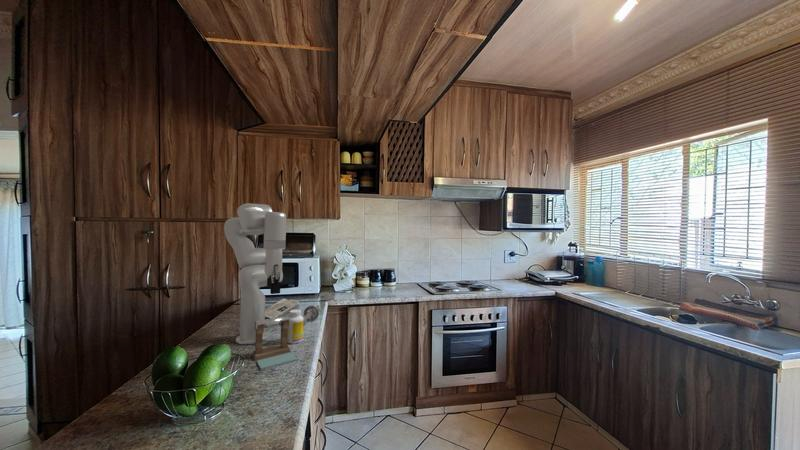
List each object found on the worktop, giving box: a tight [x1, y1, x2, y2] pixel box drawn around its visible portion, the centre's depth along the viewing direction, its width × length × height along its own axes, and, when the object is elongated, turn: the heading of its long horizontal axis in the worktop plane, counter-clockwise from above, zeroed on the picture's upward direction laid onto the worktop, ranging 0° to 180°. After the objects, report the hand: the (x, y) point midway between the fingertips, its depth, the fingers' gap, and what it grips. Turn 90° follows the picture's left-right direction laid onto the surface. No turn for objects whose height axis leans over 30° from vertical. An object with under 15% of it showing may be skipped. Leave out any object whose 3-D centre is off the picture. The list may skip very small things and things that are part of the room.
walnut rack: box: [252, 319, 291, 362], centre depth 109 cm, size 6×12×12 cm, turn 128°
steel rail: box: [256, 315, 289, 329], centre depth 108 cm, size 11×3×3 cm, turn 128°
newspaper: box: [265, 298, 300, 319], centre depth 165 cm, size 35×12×4 cm, turn 176°
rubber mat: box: [256, 351, 298, 371], centre depth 102 cm, size 7×12×1 cm, turn 128°
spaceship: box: [301, 304, 321, 324], centre depth 147 cm, size 8×35×8 cm
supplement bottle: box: [287, 308, 304, 345], centre depth 121 cm, size 7×7×13 cm
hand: (273, 290), depth 107 cm, fingers open, 9 cm apart
